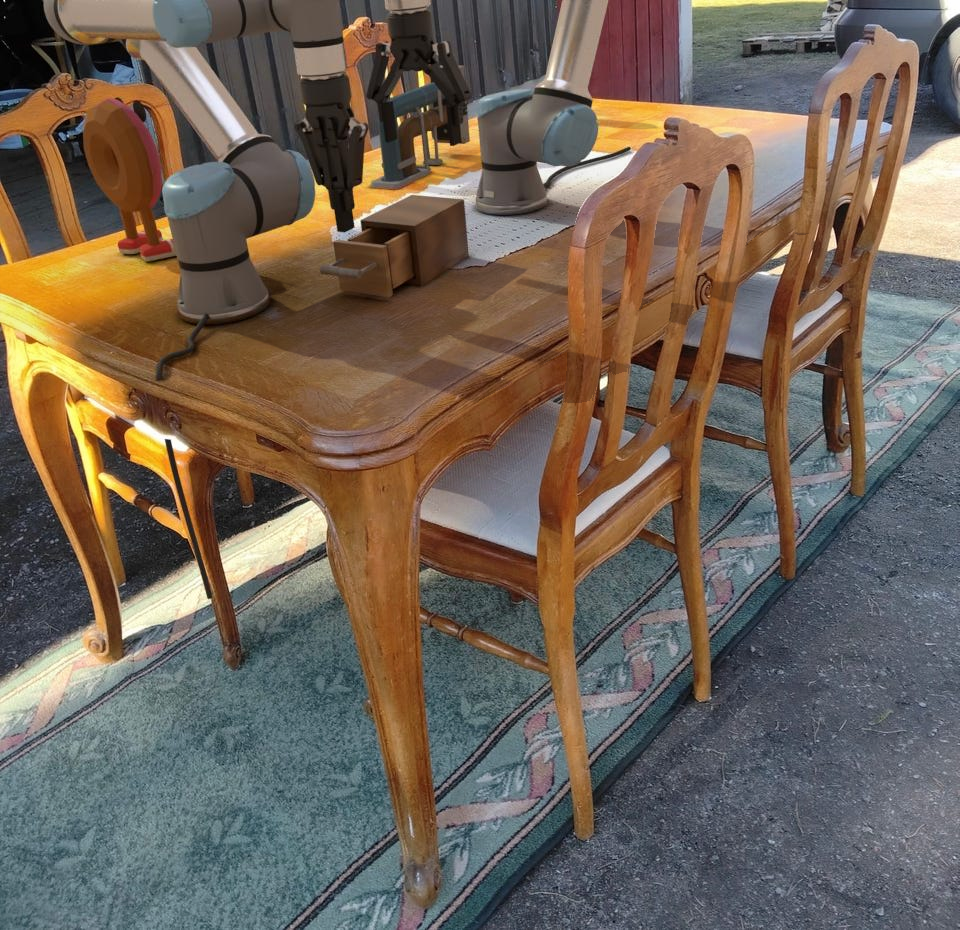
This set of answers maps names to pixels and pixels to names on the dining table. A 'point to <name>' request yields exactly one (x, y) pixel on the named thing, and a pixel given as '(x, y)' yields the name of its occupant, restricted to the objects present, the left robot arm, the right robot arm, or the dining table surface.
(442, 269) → the cabinet
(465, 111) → the clamp
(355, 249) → the drawer
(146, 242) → the toy
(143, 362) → the dining table surface
